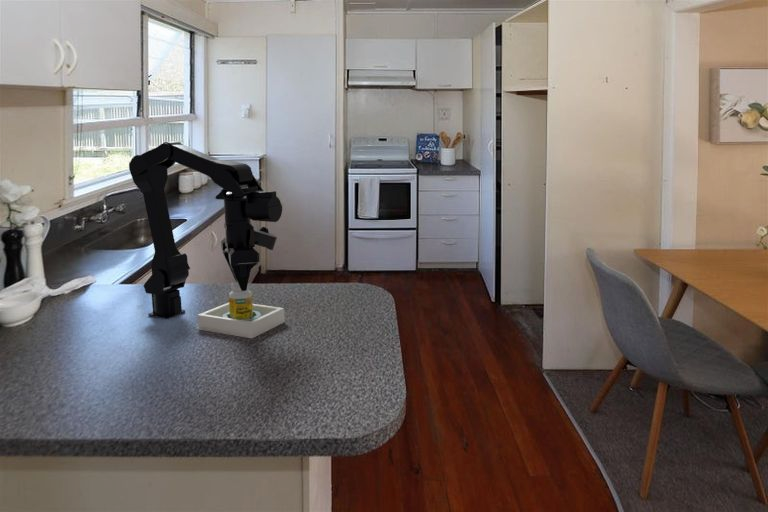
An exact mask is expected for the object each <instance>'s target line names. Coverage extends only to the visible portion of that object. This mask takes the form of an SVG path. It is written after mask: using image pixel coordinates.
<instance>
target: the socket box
mask: <svg viewBox="0 0 768 512" xmlns="http://www.w3.org/2000/svg"><path fill="white" fill-rule="evenodd" d="M197 322H198V323H197V324H198V330H201V331H207V332H212V333H217V334H218V333H219V334H223V335H230V336H236V337H241V338H248V339H254V338H255V337H257V336H260V335H261V334H265V333H266V332H267V331H271V330H272V329H274V328H276V327H278V326H279V325H281V324H284V323H285V308H284V307H278V306H271V305H264V304H257V303H256V304H255V303H253V317H252V318H250V319H240V320H238V319H231V318H230V308H229V302H226V303H224V304H222V305H219V306H216V307H214V308H211V309H209V310H207V311H204V312H201V313H199V314H197Z"/></svg>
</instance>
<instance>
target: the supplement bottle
mask: <svg viewBox="0 0 768 512" xmlns="http://www.w3.org/2000/svg"><path fill="white" fill-rule="evenodd" d="M249 283H250V282H248V285H247V290H246V291H242V290H241V288H240V286H239V284H238V282H237V281H233V282H231V284H230V289H231V290H232V291H230V292H229V293H228V303H229V308H230V318H231V319H238V320H240V319H250V318H252V317H253V304H254V302H253V293H252V291H251V290H250V289H249V288H250V284H249Z"/></svg>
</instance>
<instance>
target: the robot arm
mask: <svg viewBox="0 0 768 512" xmlns="http://www.w3.org/2000/svg"><path fill="white" fill-rule="evenodd" d="M176 163H177V164H178V165H181V166H182V167H183V166H184V167H186V168H187V169H191V170H194V171H195V172H198V173H200V174H203V175H205V176H207V177H208V178H209V179H211V181H212V182H213V183H214V184H215V185H216V186H218V187H220V188H221V190H220V191H219V193H217V195H215V197H214V198H215V200H221V201H222V200H223V206H224V210H223V211H224V223H223V228H224V229H225V237H224V238H223V239H222V240H221V241H220V249H221V251H222V255H223V256H224V259H225V261H226V263H227V265H228V268H229V270H230V272H231V274H232V276H233V278H234V280H235V281H234V282H236V281H237V282H238V284H239V286H240V288H241V290H242V291H246V290H247V285H248V283H249V281H250V273H251V272H252V271H251V270H252V269H253V268H255V266H257V265H258V264H259V262H260V253H259V252H258V250H257V249H255V247H256V246H260V247H262V248H265V249H267V250H270V251H273V250H274V248H275V244H276V243H277V239H278V237H277V236H276V235H275V234H274V233H273V234H272V233H271V232H270V231H269V228H268V227H266V226H262V225H261V226H259V228H258V229H256V228H255V226H254V225H253V223H252V221H253V222H254V221H255V222H268V223H277V222H278V221H279V220H281V217H282V213H283V204H282V202H281V200H280V198H279V196H277V192H276V191H275V190H269V191H268V190H267V191H264V189H263V188H262V186H261V185H260V183H259V182H258V181H257V179H256V177H255V176H254V174H253V170H252V168H251V167H250V165H249V164H247V163H244V162H239V161H238V162H237V161H234V160H223V159H219V158H216V157H214V156H211V155H208V154H207V153H204V152H201V151H199V150H196V149H195V148H192V147H189V146H187V145H185V144H183V143H182V142H180V141H164V142H163V143H161V144H159V145H157V146H156V147H155V148H152V149H150V150H147V151H145V152H143V153H142V154H136V155H134V156H133V157H132V158H131V160H130V161H129V164H128V169H129V172H130V175H131V178H132V181H133V183H134V184H135V185H136V187H137V188H138V190H139V191H140V192H141V193H142V197H143V200H144V206H145V210H146V214H147V221H148V225H149V229H150V233H151V239H152V244H153V249H154V254H153V257H152V261H151V264H150V265H151V275H150V277H148V279H147V280H146V281H145V282H144V283H143V288H144V291H145V293H146V294H147V295H148V294H149V295H151V301H152V302H151V304H152V306H151V307H152V311H151V312H149V313H148V317H153V318H154V317H155V318H161V319H168V320H169V319H171V318H174V317H176V316H179V315H181V314H182V315H183V313H184V314H185V313H186V309H183V307H182V296H181V293H180V289H181V288H185V284H186V281H187V279H188V277H189V276H190V275H189V273H190V271H189V270H191V267H190V265H189V262H188V255H187V253H181V252H180V251H179V249H178V248H177V245H176V240H175V236H174V231H173V227H172V222H171V217H170V212H169V207H168V202H167V198H166V193H165V188H166V186H167V182H168V170H169V169H170V168H172V167H173V166H174V165H175V164H176Z"/></svg>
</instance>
